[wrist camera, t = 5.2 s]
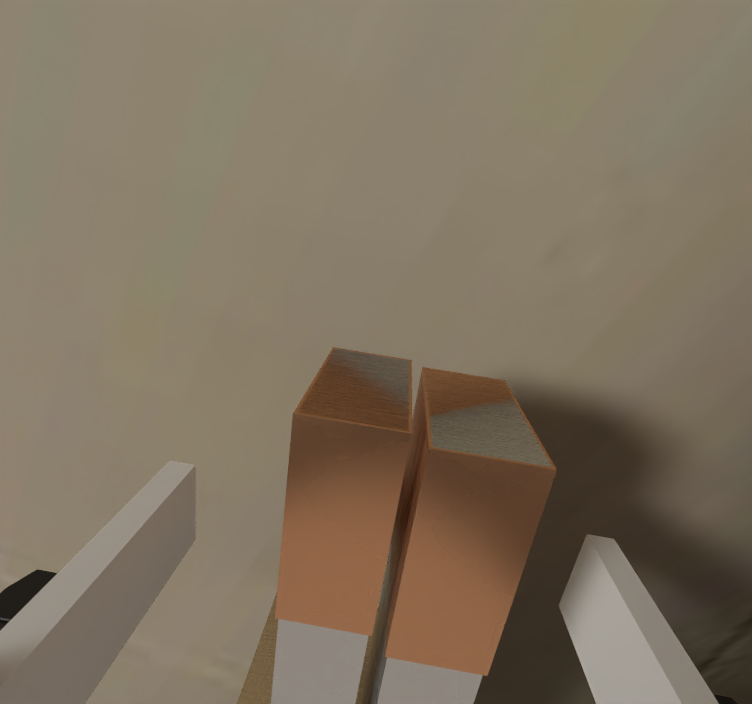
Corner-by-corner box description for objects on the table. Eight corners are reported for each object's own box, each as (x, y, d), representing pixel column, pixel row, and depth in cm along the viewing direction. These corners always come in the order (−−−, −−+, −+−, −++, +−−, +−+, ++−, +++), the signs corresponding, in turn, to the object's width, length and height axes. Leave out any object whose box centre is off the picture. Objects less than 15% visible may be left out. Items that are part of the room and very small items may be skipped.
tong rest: (304, 287, 14) (146, 388, 6) (528, 323, 14) (711, 485, 6) (270, 663, 21) (171, 979, 12) (425, 692, 20) (437, 1037, 12)
